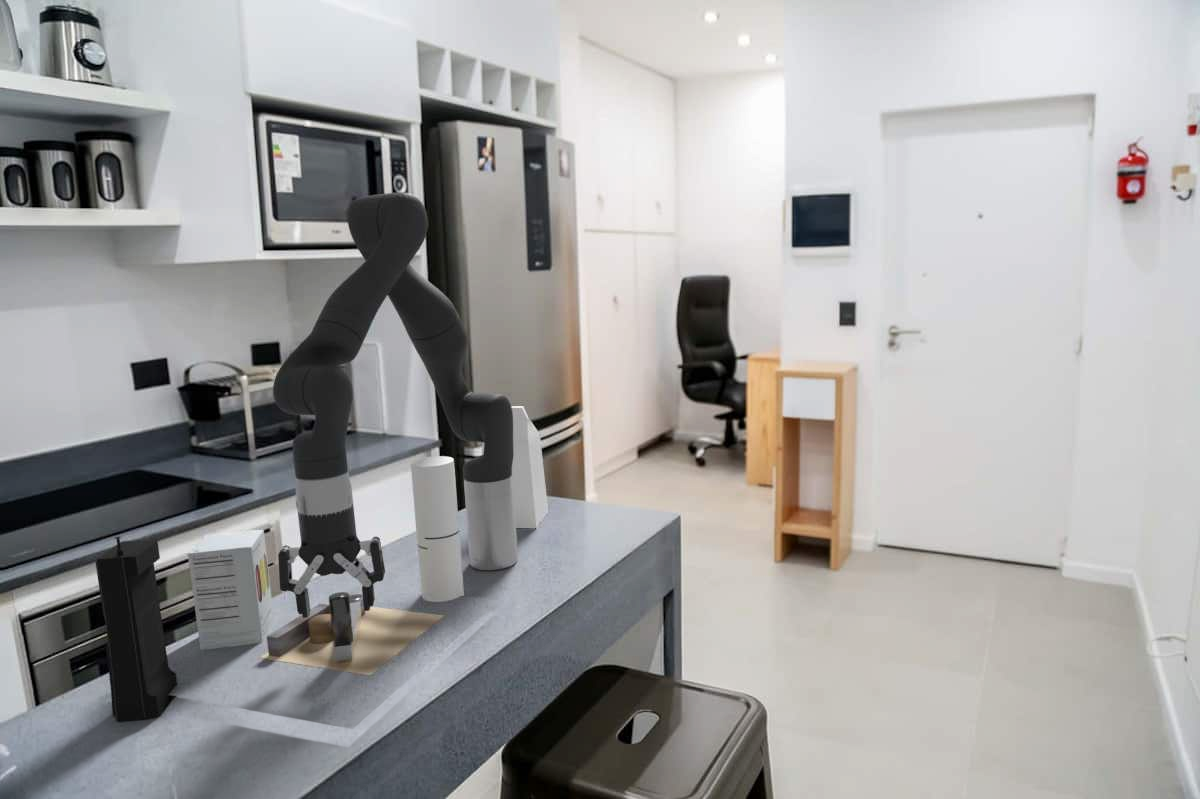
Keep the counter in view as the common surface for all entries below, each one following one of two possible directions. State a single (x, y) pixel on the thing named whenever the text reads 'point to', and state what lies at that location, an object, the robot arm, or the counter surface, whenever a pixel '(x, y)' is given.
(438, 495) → the cylindrical container
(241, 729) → the counter surface
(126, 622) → the portable radio
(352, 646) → the lever
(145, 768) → the counter surface
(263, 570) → the supplement box
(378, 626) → the nutcracker board
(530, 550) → the counter surface
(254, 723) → the counter surface
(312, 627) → the nut
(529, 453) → the milk
